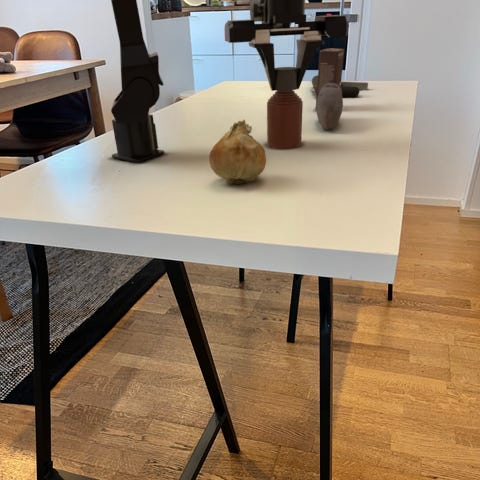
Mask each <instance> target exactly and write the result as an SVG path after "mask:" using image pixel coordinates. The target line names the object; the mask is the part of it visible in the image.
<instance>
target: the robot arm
mask: <svg viewBox="0 0 480 480" xmlns="http://www.w3.org/2000/svg"><path fill="white" fill-rule="evenodd" d="M110 1H111V6H112V12H113V16H114V21H115V25H116V31H117V35H118V36H117V37H118V40H119V53H120V54H119V59H120V60H119V61H120V80H121V81H120V83H121V90H120V92H119V93H118V94H117V96H116V97H115V98H114V100H113V103H112V106H111V109H110V112H111V115H112V116H113V118H114V119H111V123H112V124H111V125H112V129H113V134H114V141H115V146H116V153H112V154H111V158H112V159H118V160H123V161H127V162H133V163H142V162H144V161H146V160H147V161H148V160H150V159H152V158H155V157H158V156H161V155H164V154H165V150H164V149H159V143H158V135H157V126H156V124H155V121H154V115H153V114H149V113H150V109H151V108H153V107H154V106H155V105H156V104H157V103H158V101H159V99H160V95H161V93H160V91H161V90H160V89H161V88H160V86H161V87H163V86H164V82H163V81H164V80H163V78H162V76H161V75H160V69H159V68H160V65H159V63H160V62H159V60H160V59H159V54H158V52H153V53H149V50H148V47H147V46H146V41H145V38H144V34H143V29H142V23H141V18H140V17H141V16H140V11H139V5H138V1H137V0H110ZM305 12H306V0H249V15H250V16H249V17H250V18H249V19H234V20H232V19H231V20H227V21H226V22H225V24H224V42H227V43H230V44H235V43H236V44H237V43H239V44H240V43H248V46H249V47H251V48H253V49H256V52H257V53H258V55H259V58H260V60H261V62H262V65H263V68H264V72H265V74H266V79H267V82H268V84H269V87H270V91H272V92H275V68H276V65H275V64H276V63H275V44H274V43H272V42H271V37H282V36H300V39H299V38H298V39H296V49H297V51H296V52H297V53H296V61H295V63H296V64H295V67H296V68H297V89H296V90H300V87H301V85H302V82H303V80H304V77H305V75H306V72H307V69H308V66H309V65H310V62H311V60H312V58H313V56H314V54H315V52H316V51H317V49H318V46H320V45H324V44H325V40H323V39H322V36H323V37H324V36H327V37H328V38H346V37H349V29H350V28H349V27H350V23H349V19H348V17H347V16H346V15H339V14H338V15H336V14H335V15H334V14H333V15H332V14H331V15H316V16H315V18H314V20H307V14H306V13H305ZM255 22H256V23H255ZM257 22H261V23H257ZM292 24H295V25H297V26H292Z"/></svg>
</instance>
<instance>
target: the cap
mask: <svg viewBox="0 0 480 480" xmlns="http://www.w3.org/2000/svg"><path fill="white" fill-rule="evenodd" d="M292 90H293V91H295V90H298V89H297V68H296V66H279V67H275V90H274V92H276V91H292Z"/></svg>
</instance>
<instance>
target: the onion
mask: <svg viewBox="0 0 480 480" xmlns="http://www.w3.org/2000/svg"><path fill="white" fill-rule="evenodd" d="M249 125H250V124H249V123H246V119H245V118H244V119H243V120H238V121H237V122H234V123H233V125H232V126H230V127H229V131H227V132H225V134H224V135H223V136H222V137H221V138H220V139H219V140H218V141H217V142H216V143H215V144H214V146H213V147H212V149H211V150H210V152H209V155H208V163H209V167H210V169H211V171H213V173H214V174H215V175H216V176H217V177H219V178H220V179H223V180H225V181H226V182H227V183H232V184H233V185H235V184H240V185H241V184H245V183H249V182H251V181H254V180H255V179H256V178H257V177H260V175H261V174H262V173H263V172H264V170H265V168H266V165H267V153H266V150H265V148H264V146H263V145H262V144H261V143H260V142H259V141H258V140H256V138H255V139H254V137H253V136H252V135H250V134H251V132H252V130H253V126H252V125H250V126H249Z"/></svg>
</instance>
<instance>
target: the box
mask: <svg viewBox="0 0 480 480" xmlns="http://www.w3.org/2000/svg"><path fill="white" fill-rule="evenodd" d="M344 57H345V49H344V48H324V49H321V50H320V51H319V59H318V69H317V70H318V71H317V75H318V82H317V95H315V96H316V97H315V104H316V103H317V98H318V95H319V92H320V90H321V89H322V87H323V86H324V85H326V84H327V83H336V84H338V85H339V86H340V88H341V82H342V75H343V67H344ZM315 111H316V107H315Z"/></svg>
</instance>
